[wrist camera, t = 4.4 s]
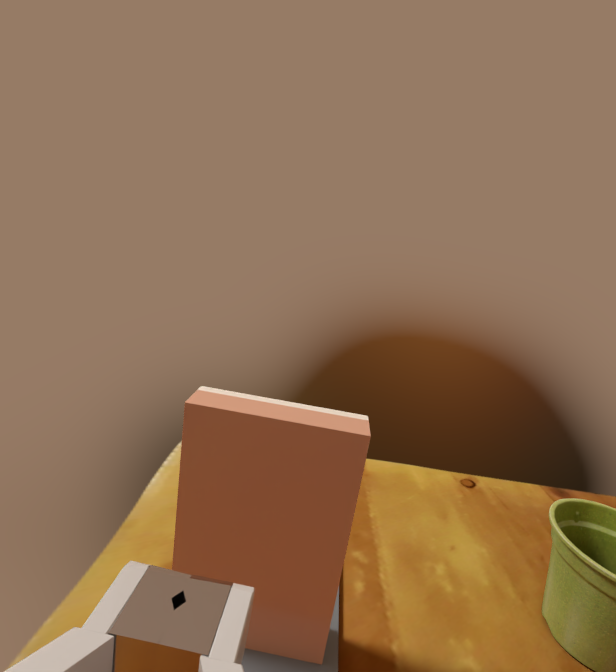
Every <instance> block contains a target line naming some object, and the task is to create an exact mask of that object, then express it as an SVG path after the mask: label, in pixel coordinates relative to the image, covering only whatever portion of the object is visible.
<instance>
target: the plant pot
mask: <svg viewBox="0 0 616 672" xmlns="http://www.w3.org/2000/svg"><path fill="white" fill-rule="evenodd" d="M549 520H550V523H551V525H552V530H551V536H552V541H553V543H552V550H551V556H550V563H549V569H548V575H547V581H546V587H545V592H544V598H543V604H542V615H543V617H544V618H545V619H546V621H547V624H548V626H549V628H550V630H551V633H552V635H553V636H554V638H555V639H556V640H557V642H558V643H559V644H560V645H561V646H562V647H563V648H564V649H565V650H566V651H567V652H568V653H569V654H571V655H572V656H573V657H574V658H575V659H577V660H578V661H579V662H581V663H582V664H584V665H585V666H587V667H588V668H590V669H592V670H594V671H596V672H616V509H615V508H612V507H609V506H606V505H604V504H600V503H597V502H593V501H588V500H583V499H560V500H558V501H556V502H554V503H553V504H552V505H551V507H550V510H549Z"/></svg>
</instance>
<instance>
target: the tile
mask: <svg viewBox="0 0 616 672" xmlns="http://www.w3.org/2000/svg"><path fill="white" fill-rule="evenodd" d="M370 437H371V435H370V428H369V421H368V416H365V415H359V414H354V413H348V412H343V411H337V410H332V409H326V408H321V407H315V406H309V405H304V404H298V403H293V402H287V401H282V400H276V399H270V398H264V397H259V396H254V395H248V394H243V393H237V392H231V391H226V390H220V389H215V388H209V387H204V386H201V387H200V388H199V389H198V390H197V391H196V392H195V393H194V394H193V395H192V396H191V397H190V398H189V399H188V400H187V401H186V402H185V408H184V421H183V435H182V447H181V460H180V474H179V487H178V500H177V513H176V526H175V539H174V552H173V565H172V570H173V571H177V572H181V573H185V574H189V575H198V576H203V577H208V578H213V579H217V580H222V581H227V582H232V583H236V584H240V585H245V586H250V587H254V588H255V594H254V600H253V606H252V612H251V618H250V624H249V629H248V635H247V640H246V645H245V648H247V649H251V650H256V651H261V652H265V653H270V654H275V655H279V656H284V657H288V658H293V659H298V660H302V661H307V662H312V663H316V664H321V665H322V662H323V657H324V652H325V648H326V643H327V638H328V634H329V629H330V624H331V620H332V615H333V610H334V606H335V601H336V596H337V592H338V587H339V582H340V578H341V573H342V568H343V563H344V559H345V554H346V549H347V545H348V540H349V535H350V531H351V526H352V521H353V517H354V512H355V507H356V503H357V498H358V493H359V489H360V484H361V479H362V475H363V470H364V465H365V461H366V456H367V451H368V447H369V442H370Z"/></svg>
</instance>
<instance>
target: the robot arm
mask: <svg viewBox="0 0 616 672" xmlns="http://www.w3.org/2000/svg"><path fill="white" fill-rule="evenodd" d="M254 594H255V588H254V587H250V586H245V585H240V584H236V583H232V582H227V581H222V580H217V579H213V578H208V577H203V576H198V575H189V574H185V573H181V572H177V571H173V570H169V569H165V568H161V567H157V566H153V565H148V564H144V563H139V562H135V561H130V562H129V563H127V564H126V565H125V566H124V567H123V569H122V570H121V572H120V573H119V575H118V576H117V577H116V579H115V580H114V582H113V583H112V585H111V586H110V588H109V589H108V590H107V592H106V593H105V595H104V596H103V598H102V599H101V601H100V602H99V603H98V605H97V606H96V608H95V609H94V611H93V612H92V614H91V615H90V616H89V618H88V619H87V621H86V622H85V624H84V625H83V627H82V628H78V627H74V628H72V629H71V630H69V631H67V632H66V633H64V634H63V635H61V636H59V637H58V638H56V639H55V640H53V641H52V642H50V643H48V644H47V645H45V646H44V647H42V648H40V649H39V650H37V651H36V652H34V653H33V654H31V655H29V656H28V657H26V658H25V659H23V660H22V661H20V662H18V663H17V664H15V665H14V666H12V667H10V668H9V669H7V670H6V671H4V672H244V669H243V666H242V665H241V663H242V659H243V655H244V650H245V645H246V640H247V635H248V629H249V624H250V618H251V612H252V606H253V600H254Z"/></svg>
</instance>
